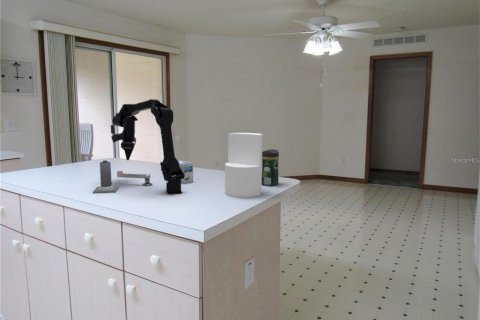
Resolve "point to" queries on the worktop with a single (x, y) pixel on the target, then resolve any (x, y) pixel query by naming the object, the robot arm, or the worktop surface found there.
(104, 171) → the plug
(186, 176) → the light bulb box
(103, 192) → the socket
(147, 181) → the grey flanged disc
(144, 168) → the worktop surface
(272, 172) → the coffee jar
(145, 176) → the bar
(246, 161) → the cylinder
